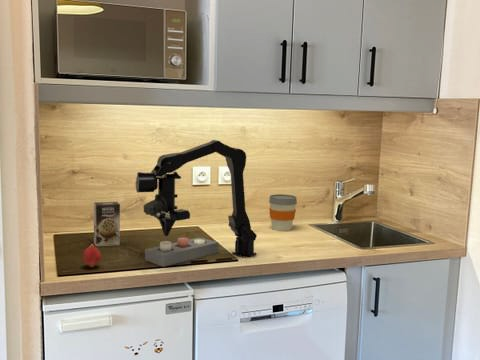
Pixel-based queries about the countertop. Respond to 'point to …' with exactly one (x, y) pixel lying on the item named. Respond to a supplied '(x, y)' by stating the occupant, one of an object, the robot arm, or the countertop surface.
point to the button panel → (181, 252)
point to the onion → (91, 256)
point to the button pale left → (165, 246)
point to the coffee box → (106, 223)
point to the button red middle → (182, 242)
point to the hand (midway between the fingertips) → (166, 235)
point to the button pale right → (199, 241)
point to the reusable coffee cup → (282, 211)
